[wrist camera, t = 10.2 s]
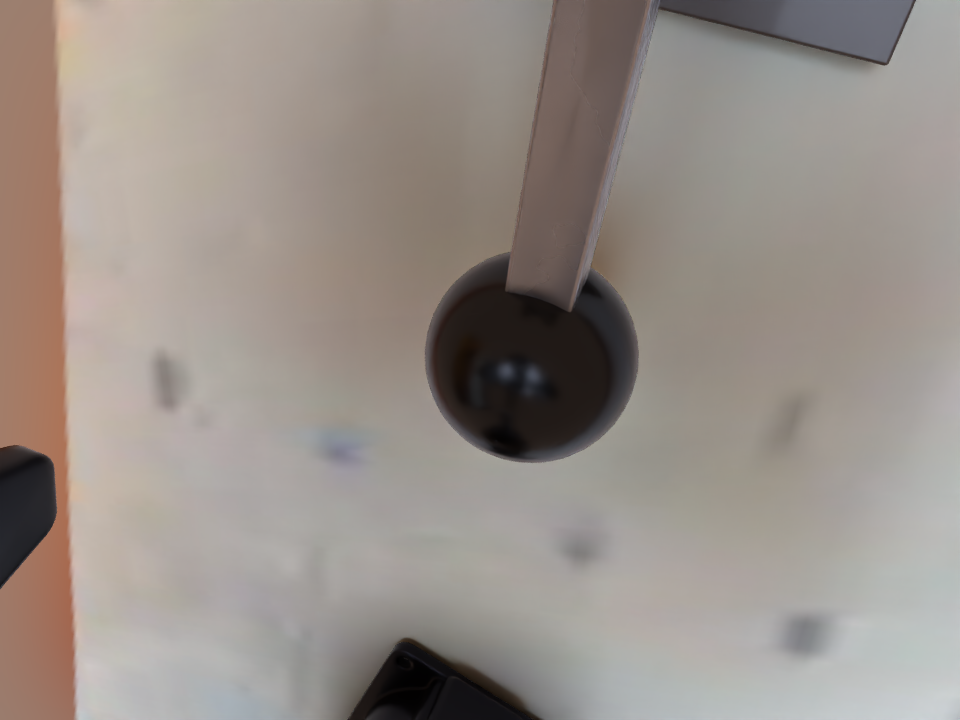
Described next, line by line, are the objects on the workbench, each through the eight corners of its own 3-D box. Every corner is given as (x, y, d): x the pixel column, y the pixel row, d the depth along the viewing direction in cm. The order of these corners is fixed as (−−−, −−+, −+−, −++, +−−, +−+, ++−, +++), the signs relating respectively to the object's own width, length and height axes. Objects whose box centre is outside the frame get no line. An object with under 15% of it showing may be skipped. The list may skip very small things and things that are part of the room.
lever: (630, 388, 16) (584, 534, 13) (461, 331, 16) (387, 461, 14) (1166, -1090, 5) (1404, -1670, 3) (636, -1097, 6) (461, -1579, 3)
